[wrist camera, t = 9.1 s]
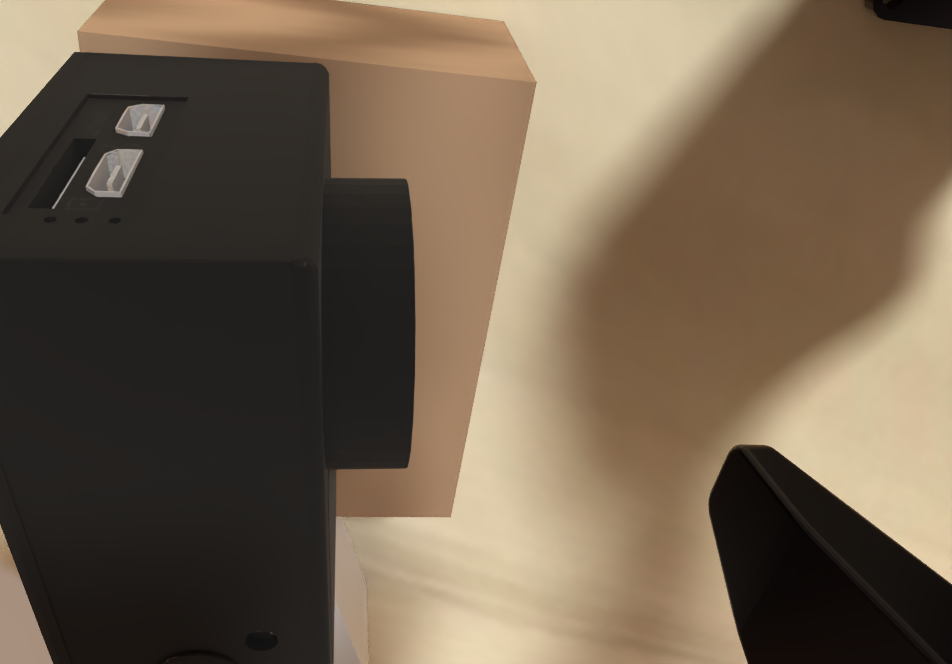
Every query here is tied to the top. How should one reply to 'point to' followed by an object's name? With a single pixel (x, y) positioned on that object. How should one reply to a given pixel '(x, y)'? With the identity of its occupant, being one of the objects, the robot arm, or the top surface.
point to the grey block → (349, 602)
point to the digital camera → (192, 356)
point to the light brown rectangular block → (390, 175)
